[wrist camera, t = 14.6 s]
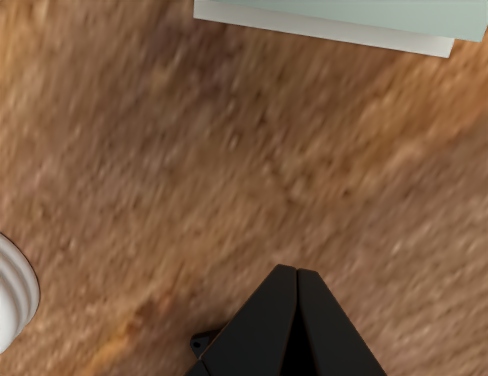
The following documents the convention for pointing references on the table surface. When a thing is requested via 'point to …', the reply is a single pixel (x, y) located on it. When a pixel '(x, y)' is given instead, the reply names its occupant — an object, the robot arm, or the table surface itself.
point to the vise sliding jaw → (392, 14)
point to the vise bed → (323, 28)
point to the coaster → (15, 292)
